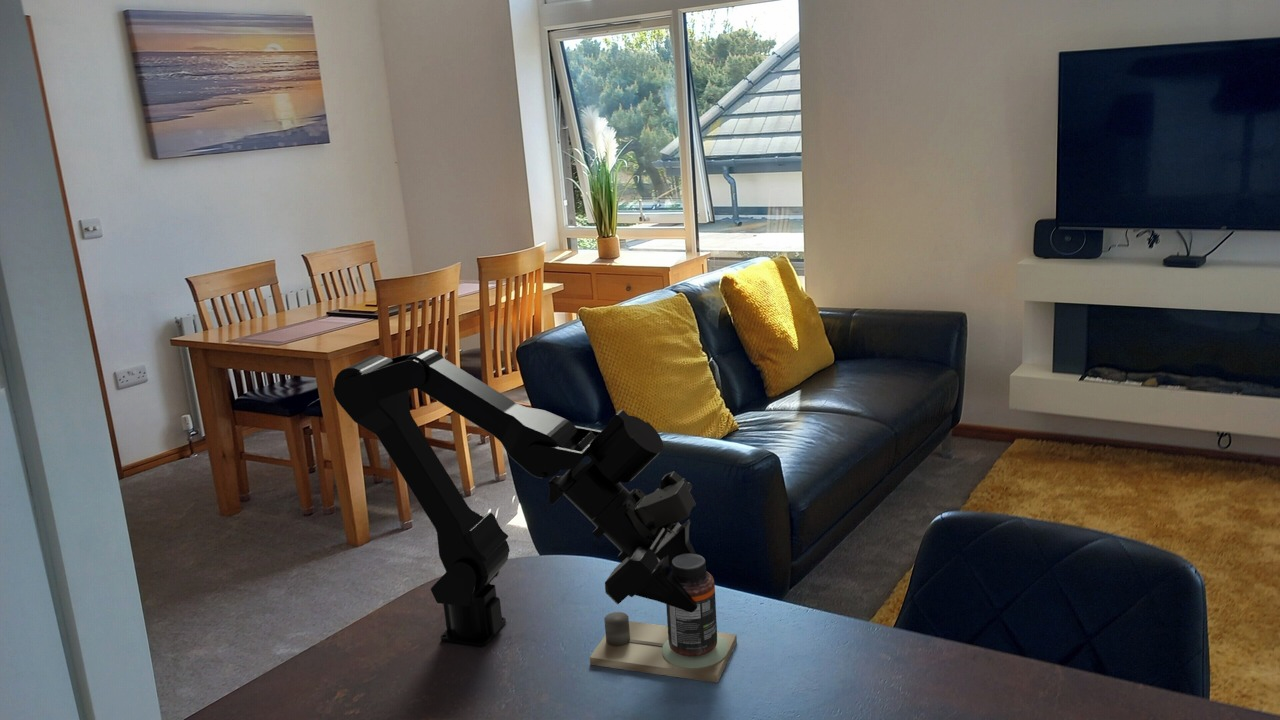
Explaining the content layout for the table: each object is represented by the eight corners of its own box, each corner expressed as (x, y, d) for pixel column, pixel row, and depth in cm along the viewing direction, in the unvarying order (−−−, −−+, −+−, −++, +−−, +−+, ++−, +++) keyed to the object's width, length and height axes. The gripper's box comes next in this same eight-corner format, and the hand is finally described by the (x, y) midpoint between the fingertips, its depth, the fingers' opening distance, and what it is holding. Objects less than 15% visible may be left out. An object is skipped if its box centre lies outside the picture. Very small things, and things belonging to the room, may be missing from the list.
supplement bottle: (679, 629, 122) (674, 546, 119) (724, 637, 120) (721, 552, 117) (660, 654, 117) (655, 567, 114) (707, 662, 115) (703, 574, 112)
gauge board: (590, 664, 119) (587, 635, 118) (616, 626, 127) (614, 598, 126) (717, 682, 113) (715, 652, 112) (736, 641, 121) (735, 612, 120)
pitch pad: (653, 663, 116) (653, 662, 116) (673, 628, 124) (673, 627, 123) (718, 672, 114) (718, 671, 113) (735, 636, 121) (735, 635, 121)
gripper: (625, 494, 105) (729, 597, 104) (672, 435, 122) (762, 523, 121) (562, 554, 109) (662, 653, 109) (617, 489, 126) (703, 574, 126)
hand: (701, 596), depth 116 cm, fingers closed on supplement bottle, 6 cm apart
